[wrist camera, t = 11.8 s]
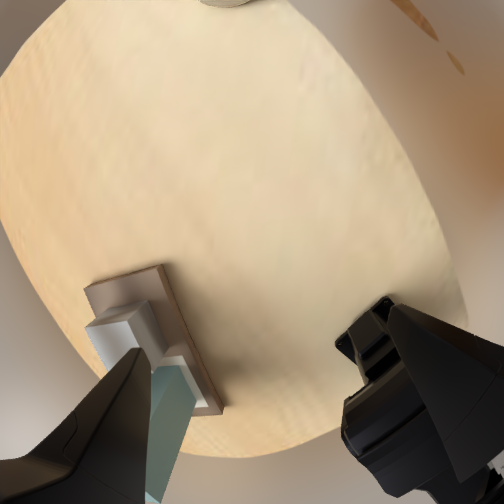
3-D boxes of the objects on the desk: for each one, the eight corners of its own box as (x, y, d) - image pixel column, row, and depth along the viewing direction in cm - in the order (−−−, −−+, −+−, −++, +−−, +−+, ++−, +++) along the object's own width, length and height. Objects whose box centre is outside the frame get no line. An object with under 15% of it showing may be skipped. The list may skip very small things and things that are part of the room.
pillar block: (178, 365, 24) (124, 472, 12) (196, 401, 25) (160, 503, 13) (137, 367, 25) (75, 458, 12) (156, 402, 26) (111, 491, 13)
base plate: (162, 264, 23) (134, 285, 18) (224, 407, 27) (215, 442, 22) (90, 284, 24) (59, 304, 19) (155, 410, 28) (141, 439, 23)
